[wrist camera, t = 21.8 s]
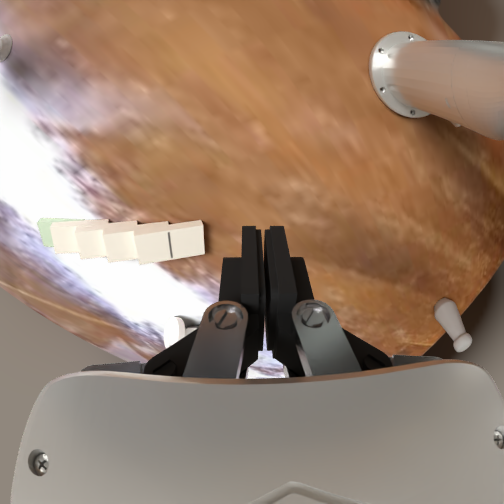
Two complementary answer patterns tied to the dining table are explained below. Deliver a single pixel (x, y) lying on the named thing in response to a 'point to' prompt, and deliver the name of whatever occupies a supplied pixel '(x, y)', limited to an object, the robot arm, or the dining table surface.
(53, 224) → the domino
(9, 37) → the chalice
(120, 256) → the domino
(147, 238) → the domino
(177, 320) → the spread jar
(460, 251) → the dining table surface
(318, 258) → the dining table surface
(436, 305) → the salt shaker
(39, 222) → the green domino
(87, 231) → the domino
